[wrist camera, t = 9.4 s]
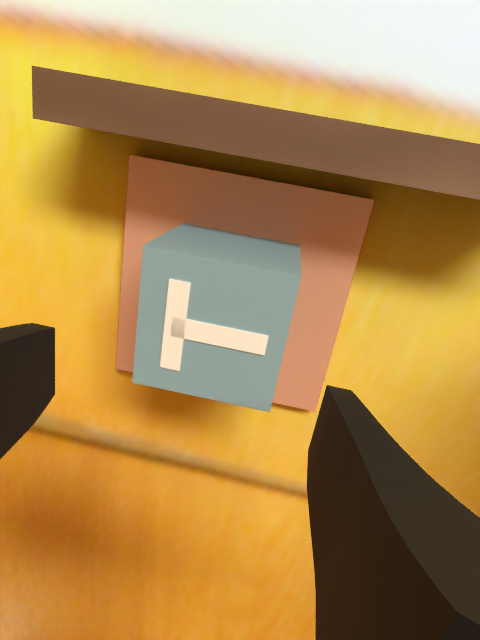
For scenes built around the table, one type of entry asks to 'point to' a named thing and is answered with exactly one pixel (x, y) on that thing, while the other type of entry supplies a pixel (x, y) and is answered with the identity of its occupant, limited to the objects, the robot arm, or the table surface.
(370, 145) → the walnut plank
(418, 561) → the robot arm
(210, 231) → the lettered cube
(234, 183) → the terracotta tile
